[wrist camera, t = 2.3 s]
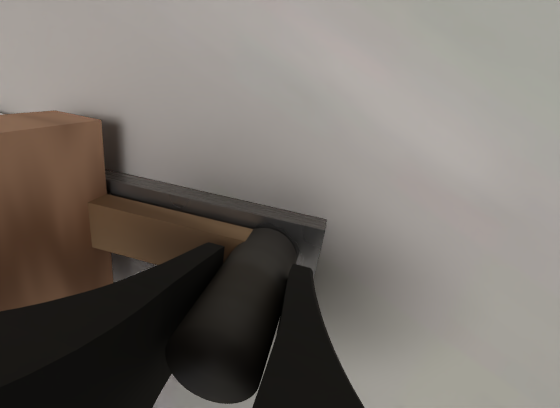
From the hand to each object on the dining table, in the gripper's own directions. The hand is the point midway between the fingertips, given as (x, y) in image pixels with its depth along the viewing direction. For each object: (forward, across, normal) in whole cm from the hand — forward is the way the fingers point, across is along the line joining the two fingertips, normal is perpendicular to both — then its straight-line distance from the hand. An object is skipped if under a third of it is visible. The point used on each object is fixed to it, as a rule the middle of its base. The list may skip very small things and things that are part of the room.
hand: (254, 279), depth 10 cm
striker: (+2, +4, 0) cm, 4 cm away
